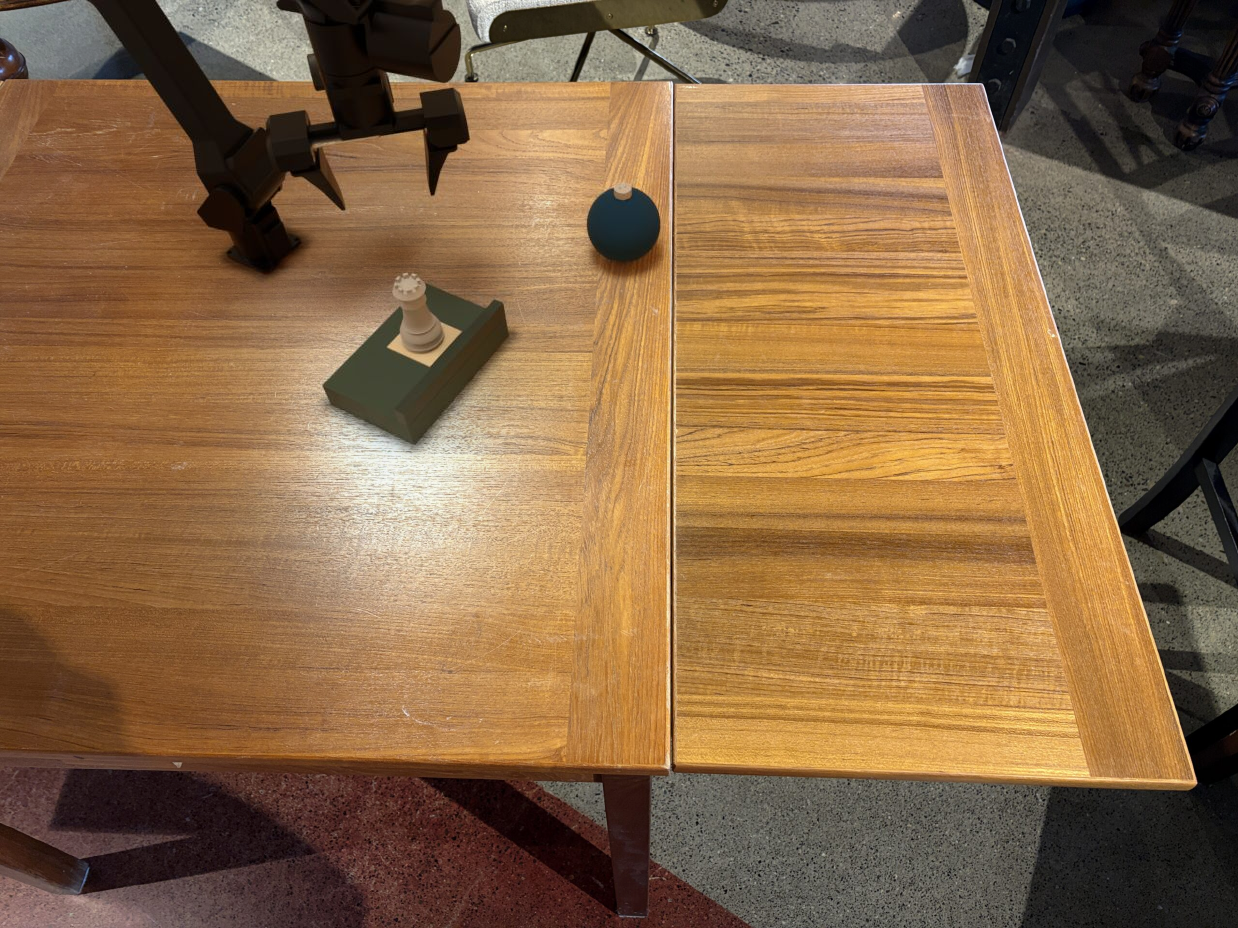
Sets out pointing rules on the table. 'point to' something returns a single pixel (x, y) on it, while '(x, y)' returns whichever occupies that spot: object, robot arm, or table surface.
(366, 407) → the green platform
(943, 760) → the table surface
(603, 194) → the christmas ornament
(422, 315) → the rook chess piece
